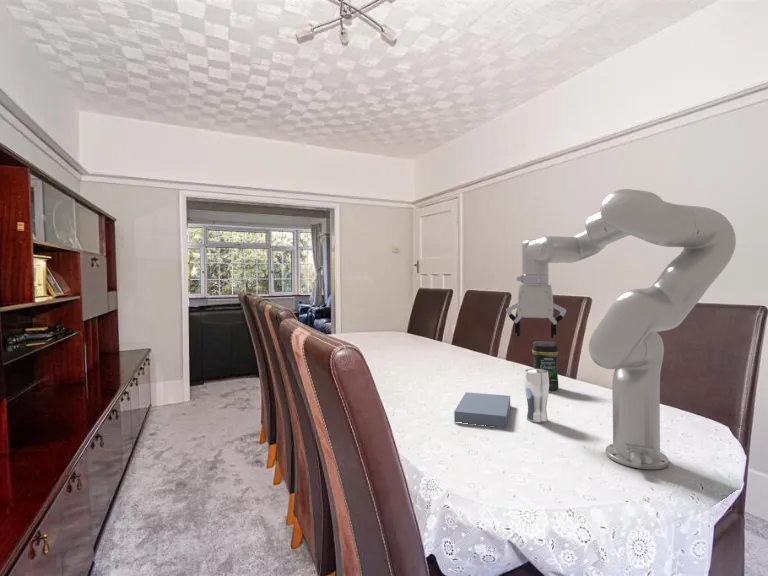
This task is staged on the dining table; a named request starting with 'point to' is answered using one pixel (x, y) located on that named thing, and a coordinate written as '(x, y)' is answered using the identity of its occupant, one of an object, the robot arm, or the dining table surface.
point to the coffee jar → (547, 360)
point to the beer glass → (537, 394)
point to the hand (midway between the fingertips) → (535, 336)
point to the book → (483, 409)
